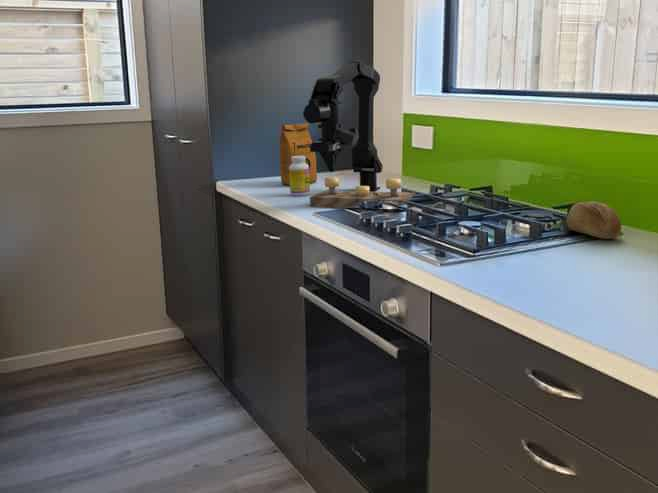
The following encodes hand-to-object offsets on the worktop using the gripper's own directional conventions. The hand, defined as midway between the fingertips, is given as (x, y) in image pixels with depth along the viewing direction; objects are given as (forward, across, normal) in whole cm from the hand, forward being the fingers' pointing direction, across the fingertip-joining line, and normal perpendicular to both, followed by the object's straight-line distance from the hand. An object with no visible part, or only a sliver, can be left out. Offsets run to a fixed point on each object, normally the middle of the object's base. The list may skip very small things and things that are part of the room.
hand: (331, 171), depth 213 cm
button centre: (+10, 0, -10) cm, 14 cm away
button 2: (+7, 0, -20) cm, 21 cm away
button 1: (+7, 0, 0) cm, 7 cm away
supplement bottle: (+10, +12, +17) cm, 23 cm away
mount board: (+10, 0, -10) cm, 14 cm away
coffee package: (+10, +32, +27) cm, 43 cm away
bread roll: (+10, -24, -77) cm, 81 cm away
